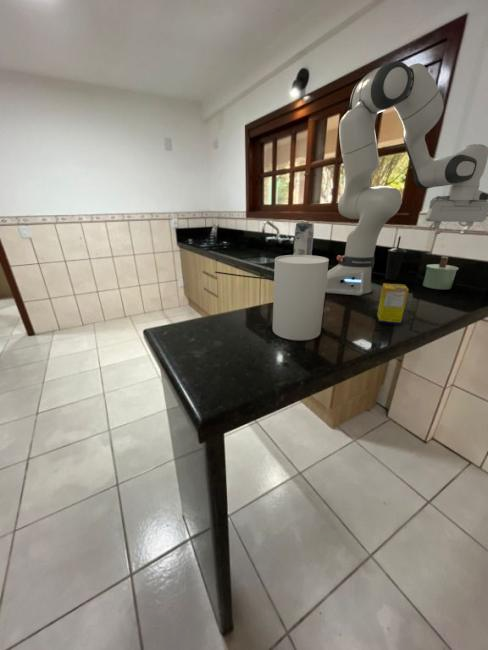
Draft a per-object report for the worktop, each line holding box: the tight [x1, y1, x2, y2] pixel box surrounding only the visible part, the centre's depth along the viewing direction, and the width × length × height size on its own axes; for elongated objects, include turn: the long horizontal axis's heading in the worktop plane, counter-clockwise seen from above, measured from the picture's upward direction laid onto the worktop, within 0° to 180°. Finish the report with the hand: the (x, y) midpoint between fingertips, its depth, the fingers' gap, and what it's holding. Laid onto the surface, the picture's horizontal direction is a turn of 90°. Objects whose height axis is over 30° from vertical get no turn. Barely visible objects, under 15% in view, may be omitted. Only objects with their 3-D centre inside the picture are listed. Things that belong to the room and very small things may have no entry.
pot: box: [422, 267, 458, 290], centre depth 113 cm, size 10×10×8 cm
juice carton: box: [293, 219, 315, 255], centre depth 141 cm, size 9×10×27 cm
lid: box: [425, 256, 460, 271], centre depth 110 cm, size 11×11×5 cm
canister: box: [271, 254, 330, 341], centre depth 71 cm, size 14×14×20 cm
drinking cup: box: [384, 235, 407, 281], centre depth 125 cm, size 8×8×20 cm
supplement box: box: [376, 282, 409, 326], centre depth 79 cm, size 6×6×11 cm
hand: (450, 233), depth 106 cm, fingers open, 8 cm apart
